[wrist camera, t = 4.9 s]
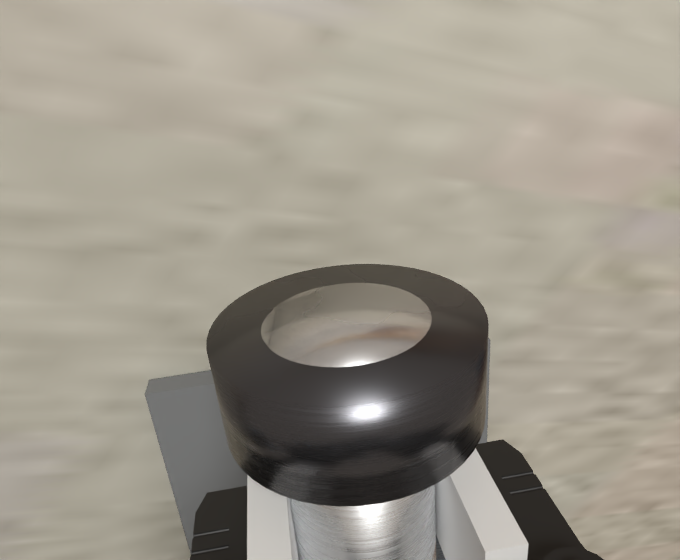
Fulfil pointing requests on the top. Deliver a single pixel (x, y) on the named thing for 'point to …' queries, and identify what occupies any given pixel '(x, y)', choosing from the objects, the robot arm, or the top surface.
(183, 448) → the mat
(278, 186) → the top surface
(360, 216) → the top surface
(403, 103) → the top surface
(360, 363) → the shaft
